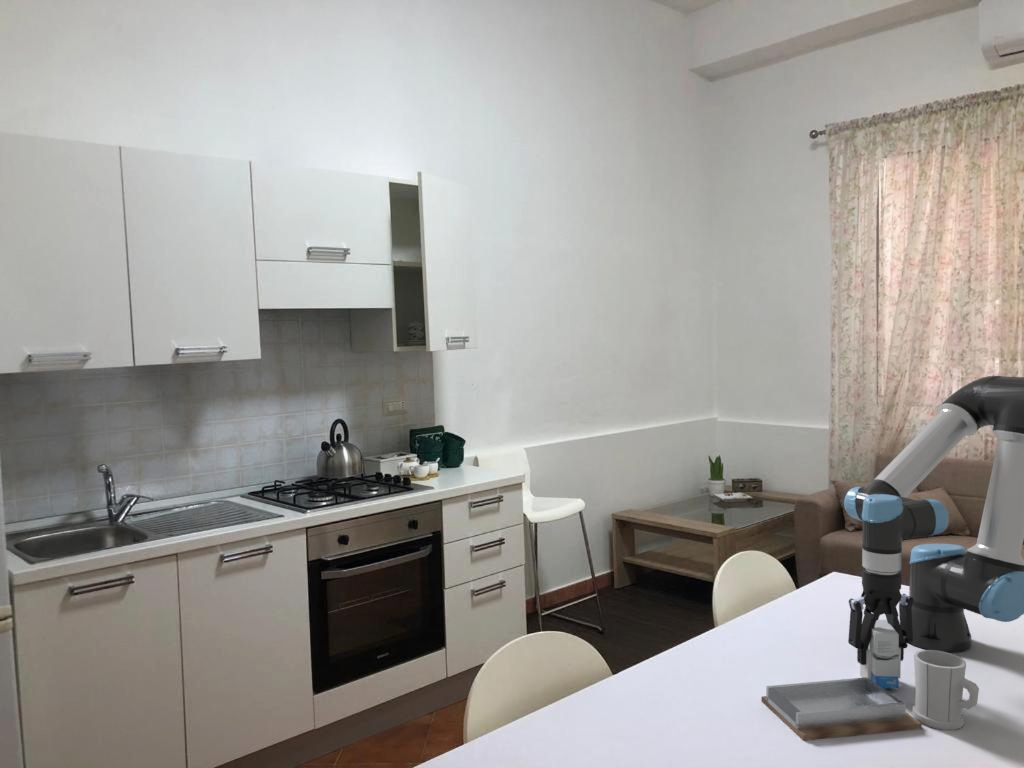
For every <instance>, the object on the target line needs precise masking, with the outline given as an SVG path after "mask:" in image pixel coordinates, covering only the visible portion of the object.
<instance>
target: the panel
mask: <svg viewBox="0 0 1024 768" xmlns="http://www.w3.org/2000/svg"><path fill="white" fill-rule="evenodd" d="M760 700H761V703H762V704H764V705H765V707H766V708H768V709H769V710H770V711H771V712H772V713H773V714H774V715H776V717H778V718H779V719H780V720H781V721H782V722H783V723H784V724H785V725H786V726H787V727H788V728H789V729H790V730H792V731H793V732H794V733H795V734H796V735H797V736H798V737H799V738H800V739H801V740H802V741H804V742H805V741H812V740H822V739H832V738H842V737H850V736H860V735H869V734H870V735H872V734H881V733H883V734H884V733H891V732H901V731H908V730H909V731H912V730H918V729H919V730H921V729H922V726H923V724H922V723H921V722H919V721H918V720H916V719H915V717H914V716H913V715H912V714H909V713H908V712H906V715H905V720H895V721H884V722H874V723H864V724H854V725H844V726H834V727H824V728H814V729H804V730H797V729H796V728H795V727H794V726H793V725H792V724H791V723H790V722H789V721H788V720H786V719H785V718H784V717H783V716H782V715H781V714H780V713H779V712H778V711H777V710H776V709H775V708H773V707H772V706H771V705H770V704H769V703H768V702H767V701H766V695H764V696H761V699H760Z"/></svg>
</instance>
